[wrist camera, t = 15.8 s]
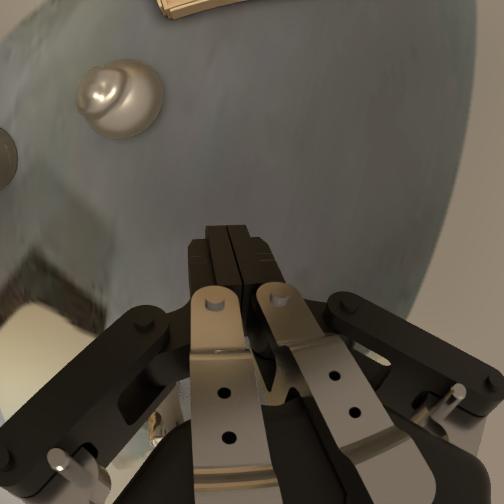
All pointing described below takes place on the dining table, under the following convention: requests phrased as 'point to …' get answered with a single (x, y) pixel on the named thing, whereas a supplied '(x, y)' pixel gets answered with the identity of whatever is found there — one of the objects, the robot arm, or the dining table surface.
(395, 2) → the dining table surface
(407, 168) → the dining table surface
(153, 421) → the beer glass
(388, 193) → the dining table surface
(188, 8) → the carton
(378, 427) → the robot arm
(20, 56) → the dining table surface
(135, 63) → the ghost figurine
